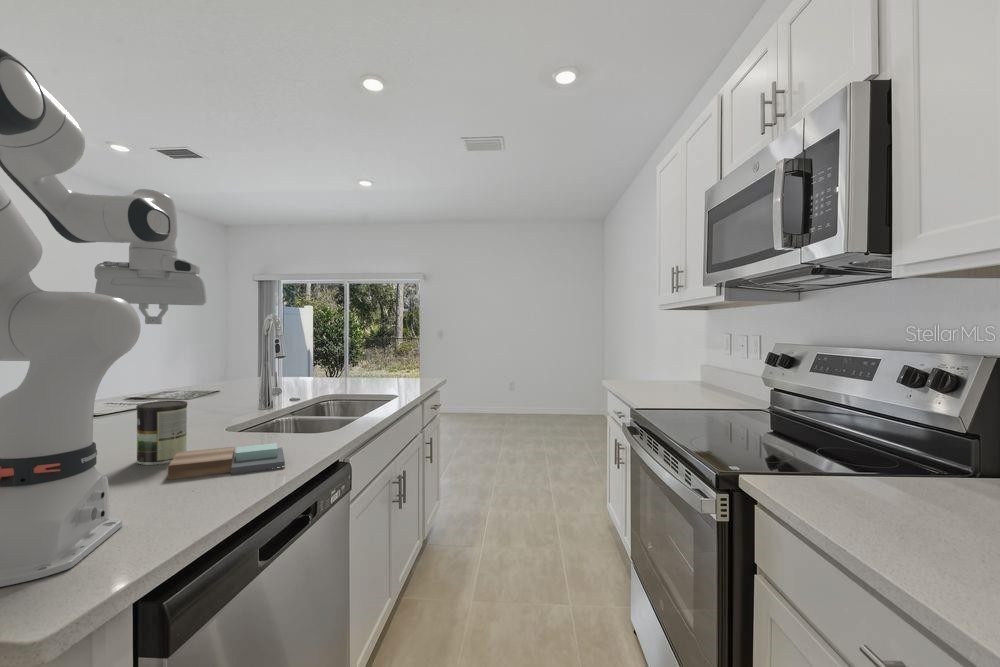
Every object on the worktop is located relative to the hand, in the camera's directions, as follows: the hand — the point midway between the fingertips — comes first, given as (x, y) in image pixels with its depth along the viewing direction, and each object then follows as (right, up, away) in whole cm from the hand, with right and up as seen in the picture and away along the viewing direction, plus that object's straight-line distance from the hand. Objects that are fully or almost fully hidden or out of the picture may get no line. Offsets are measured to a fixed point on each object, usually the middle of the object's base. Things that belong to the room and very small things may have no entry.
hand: (153, 324), depth 103 cm
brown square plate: (+9, -34, +3) cm, 36 cm away
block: (+19, -33, +9) cm, 39 cm away
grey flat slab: (+20, -34, +8) cm, 40 cm away
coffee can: (-6, -34, +10) cm, 36 cm away
